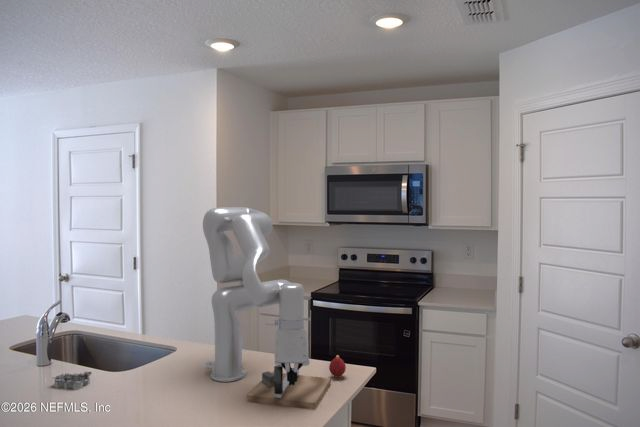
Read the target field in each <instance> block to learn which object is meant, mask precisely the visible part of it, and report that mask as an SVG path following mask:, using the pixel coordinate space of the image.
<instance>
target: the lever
mask: <svg viewBox="0 0 640 427" xmlns="http://www.w3.org/2000/svg"><path fill="white" fill-rule="evenodd" d="M291 368H292V370H293V368H294V367H291ZM273 371H274V397H276V398H282V396H283V395H284V393H285V392H286V390H287V389H288V387H289V386H290V385H289V381H287V372H286V371H285V374H286V377H285V379H284V380H283V373H284V368H283V367H282V366H280V365H276V364H275V365H274V367H273ZM299 375H300V371H299V370H298V371H297V377H299Z"/></svg>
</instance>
